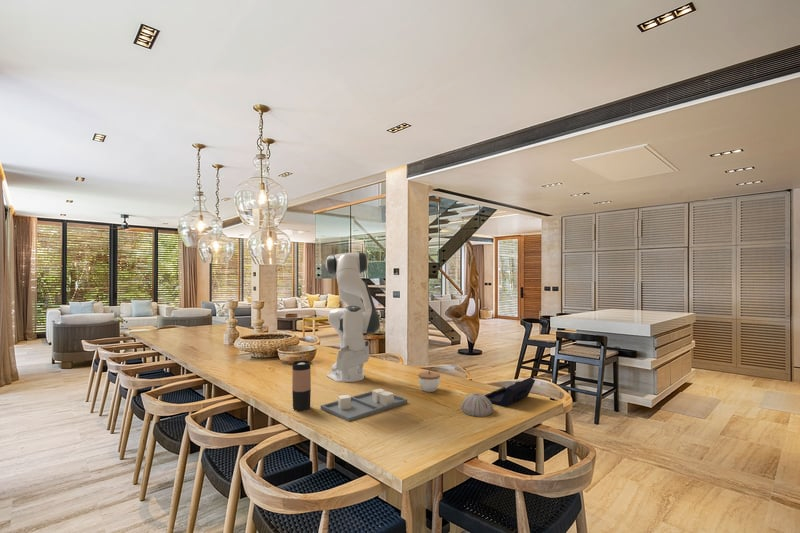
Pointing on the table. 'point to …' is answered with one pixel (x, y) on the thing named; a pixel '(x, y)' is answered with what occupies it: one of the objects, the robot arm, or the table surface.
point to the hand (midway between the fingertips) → (353, 376)
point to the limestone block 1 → (344, 402)
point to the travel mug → (301, 385)
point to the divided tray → (361, 407)
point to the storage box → (511, 393)
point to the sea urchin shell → (477, 405)
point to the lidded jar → (429, 381)
